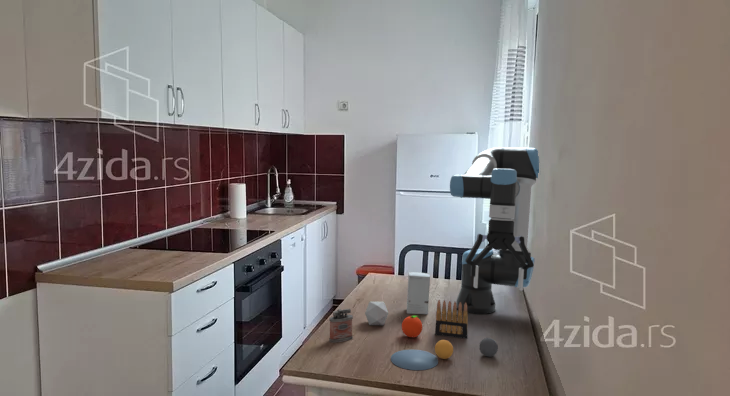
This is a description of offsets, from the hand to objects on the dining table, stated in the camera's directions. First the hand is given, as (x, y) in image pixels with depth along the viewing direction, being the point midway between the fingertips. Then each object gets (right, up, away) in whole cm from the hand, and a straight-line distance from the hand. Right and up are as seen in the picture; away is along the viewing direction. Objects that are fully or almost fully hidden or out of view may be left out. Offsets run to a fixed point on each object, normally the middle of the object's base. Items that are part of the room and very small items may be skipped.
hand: (497, 288), depth 152 cm
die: (-37, -17, +25) cm, 47 cm away
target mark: (-26, -20, -5) cm, 33 cm away
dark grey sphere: (-3, -17, -2) cm, 18 cm away
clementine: (-25, -19, +13) cm, 34 cm away
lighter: (-49, -19, +10) cm, 53 cm away
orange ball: (-17, -17, -4) cm, 25 cm away
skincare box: (-20, -16, +38) cm, 46 cm away
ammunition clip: (-12, -19, +14) cm, 26 cm away
